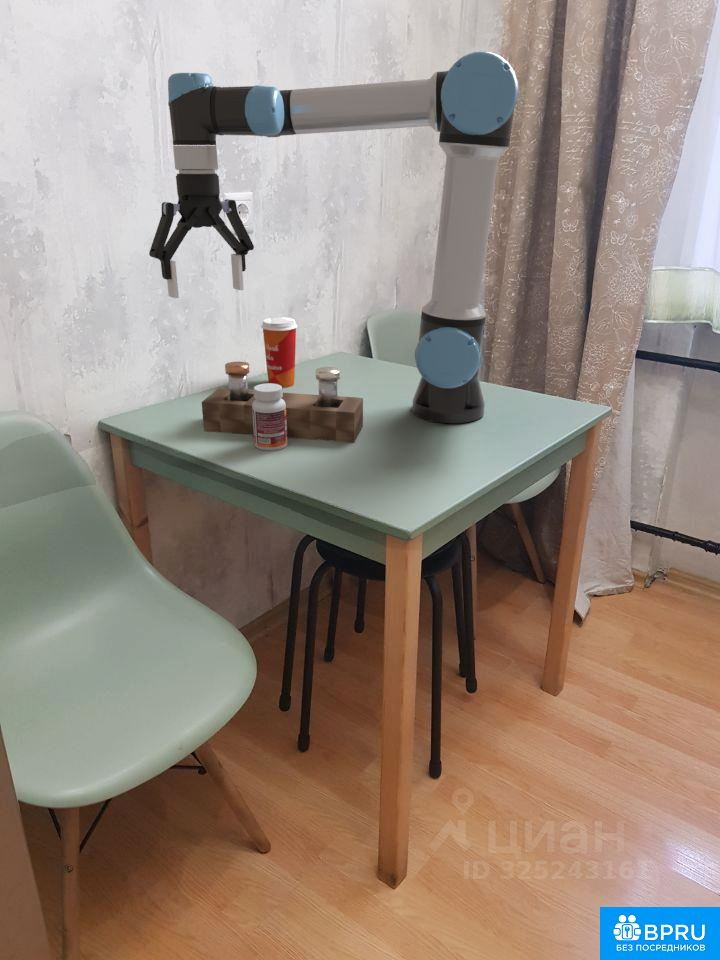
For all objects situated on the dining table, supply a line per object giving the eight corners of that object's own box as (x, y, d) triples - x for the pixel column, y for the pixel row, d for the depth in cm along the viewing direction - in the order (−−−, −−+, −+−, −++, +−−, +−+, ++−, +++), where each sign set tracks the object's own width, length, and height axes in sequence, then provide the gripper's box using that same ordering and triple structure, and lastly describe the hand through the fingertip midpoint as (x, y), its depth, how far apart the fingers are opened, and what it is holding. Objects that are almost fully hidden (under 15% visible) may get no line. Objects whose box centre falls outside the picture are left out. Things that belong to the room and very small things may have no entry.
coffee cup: (259, 381, 175) (256, 318, 169) (292, 377, 178) (290, 315, 172) (270, 391, 168) (267, 325, 162) (304, 387, 171) (302, 322, 165)
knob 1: (254, 396, 147) (252, 362, 144) (246, 403, 143) (244, 368, 140) (232, 395, 148) (229, 360, 145) (224, 402, 143) (221, 367, 141)
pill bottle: (293, 447, 137) (291, 388, 132) (263, 454, 134) (260, 394, 129) (277, 437, 142) (275, 380, 137) (248, 443, 139) (245, 385, 134)
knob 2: (342, 402, 144) (342, 367, 141) (337, 410, 140) (337, 374, 137) (319, 401, 145) (318, 366, 142) (313, 408, 140) (313, 372, 138)
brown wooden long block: (362, 426, 147) (363, 397, 145) (354, 442, 139) (354, 412, 137) (220, 416, 152) (218, 388, 150) (204, 431, 144) (201, 402, 142)
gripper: (247, 170, 141) (253, 283, 150) (121, 172, 127) (136, 297, 136) (267, 171, 136) (273, 288, 144) (138, 174, 122) (153, 303, 130)
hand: (206, 293), depth 140 cm, fingers open, 13 cm apart
